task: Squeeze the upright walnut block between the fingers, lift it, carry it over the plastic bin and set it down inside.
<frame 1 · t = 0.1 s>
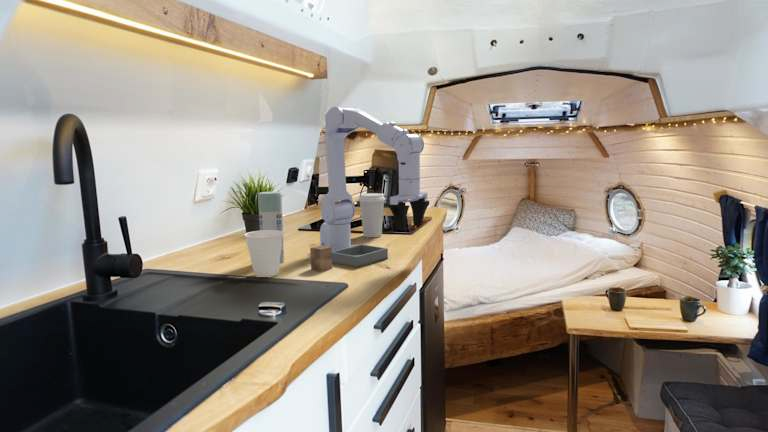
hand: (409, 227, 141), 10 cm above the worktop, fingers open, 7 cm apart
cup: (266, 275, 133), on the worktop
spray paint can: (273, 262, 147), on the worktop
bin: (359, 260, 147), on the worktop
coffee cup: (372, 236, 183), on the worktop
walnut block: (321, 268, 138), on the worktop
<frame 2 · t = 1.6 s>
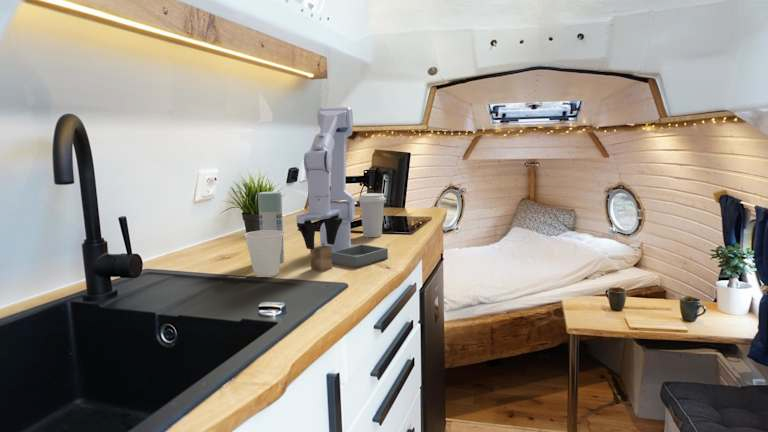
hand: (320, 246, 137), 6 cm above the worktop, fingers open, 7 cm apart
nothing on the worktop moved.
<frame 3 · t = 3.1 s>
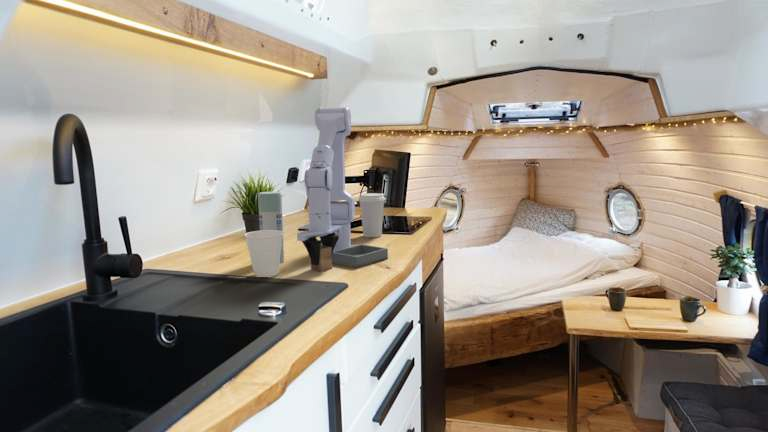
hand: (321, 262, 138), 2 cm above the worktop, fingers closed on walnut block, 4 cm apart
walnut block: (321, 268, 138), on the worktop, touching gripper
everything else where it was.
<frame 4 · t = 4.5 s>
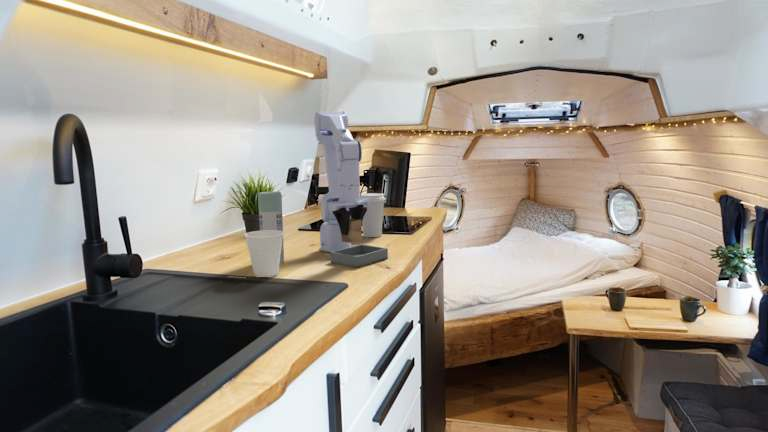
hand: (350, 233, 143), 8 cm above the worktop, fingers closed on walnut block, 4 cm apart
walnut block: (351, 241, 143), point 6 cm above the worktop, touching gripper
everything else where it was.
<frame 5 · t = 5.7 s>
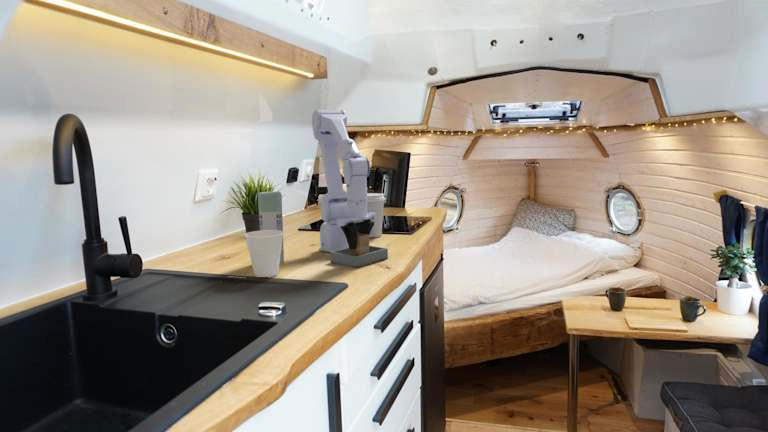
hand: (358, 247, 146), 4 cm above the worktop, fingers closed on walnut block, 4 cm apart
walnut block: (359, 255, 146), point 2 cm above the worktop, touching gripper
everything else where it was.
when the fingers open (4 cm above the worktop, at t = 6.3 s): walnut block drops 1 cm, resting on bin.
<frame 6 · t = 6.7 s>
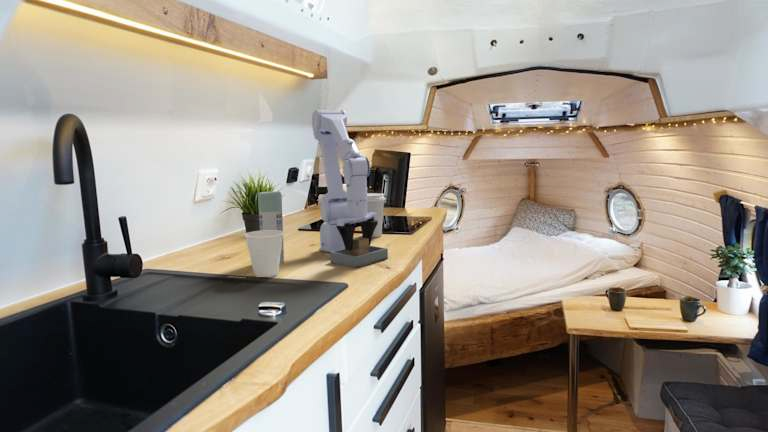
hand: (358, 247, 146), 4 cm above the worktop, fingers open, 7 cm apart
walnut block: (359, 259, 146), resting on bin
everything else where it was.
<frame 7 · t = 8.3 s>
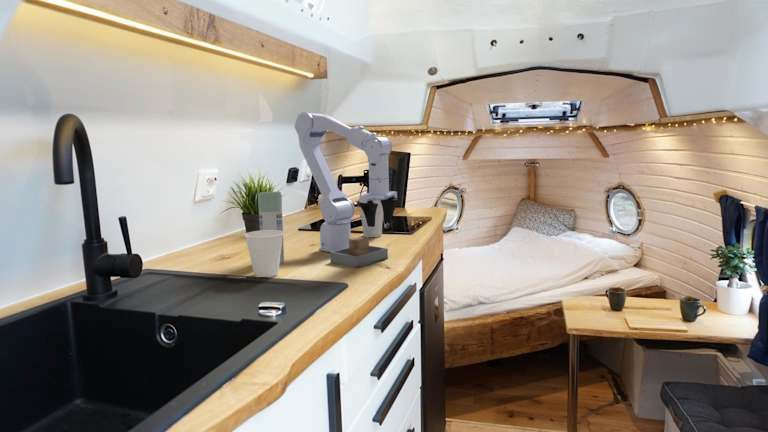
hand: (379, 224, 151), 9 cm above the worktop, fingers open, 7 cm apart
nothing on the worktop moved.
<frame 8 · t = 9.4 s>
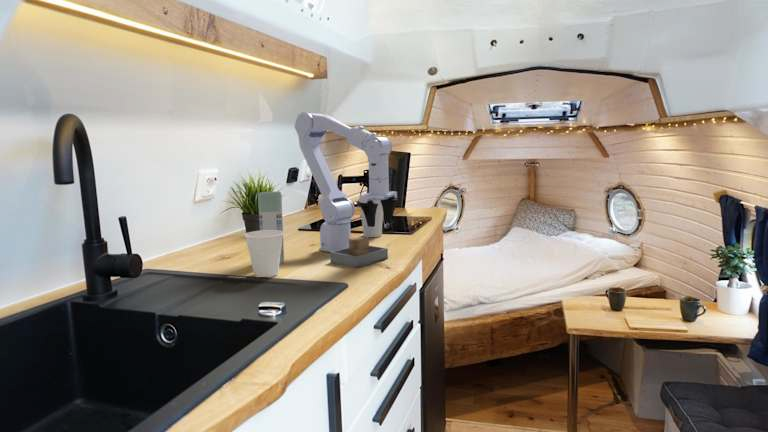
hand: (379, 224, 151), 9 cm above the worktop, fingers open, 7 cm apart
nothing on the worktop moved.
at the end: walnut block inside the target area on the bin (0.6 cm from its centre), point 0.5 cm above the bin's base; the gripper is holding nothing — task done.
